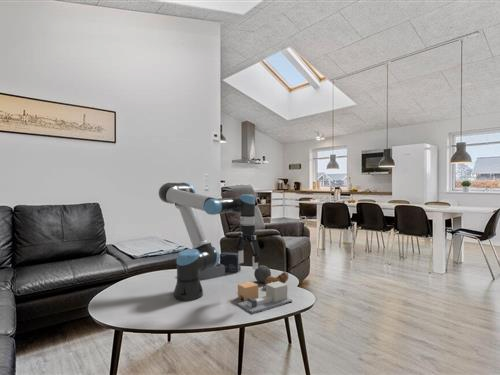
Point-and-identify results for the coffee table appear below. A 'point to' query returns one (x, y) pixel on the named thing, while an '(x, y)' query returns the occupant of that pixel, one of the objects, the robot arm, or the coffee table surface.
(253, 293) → the block
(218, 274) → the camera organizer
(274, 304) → the rail board
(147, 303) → the coffee table surface
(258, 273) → the decorative ball
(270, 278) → the lion figurine
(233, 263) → the small box
